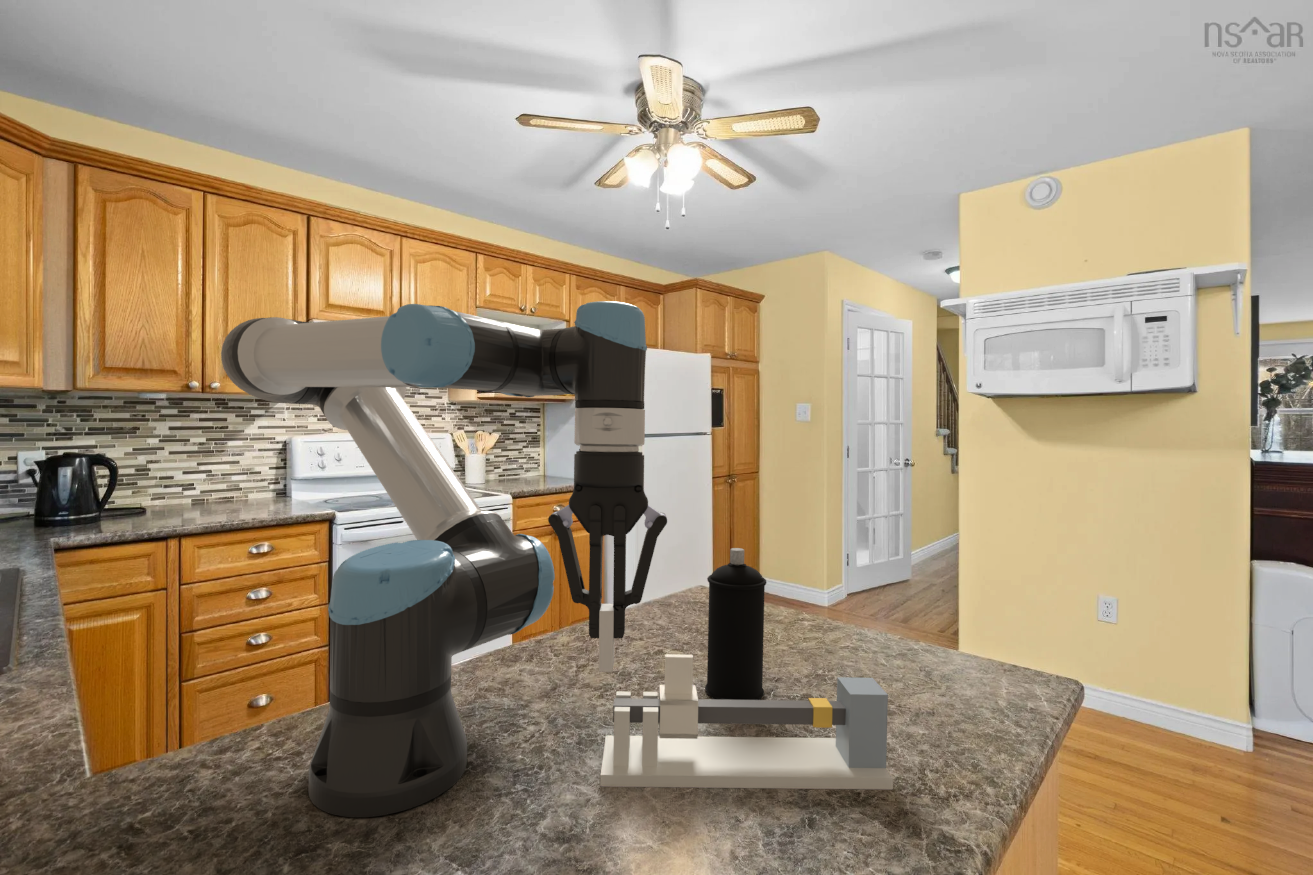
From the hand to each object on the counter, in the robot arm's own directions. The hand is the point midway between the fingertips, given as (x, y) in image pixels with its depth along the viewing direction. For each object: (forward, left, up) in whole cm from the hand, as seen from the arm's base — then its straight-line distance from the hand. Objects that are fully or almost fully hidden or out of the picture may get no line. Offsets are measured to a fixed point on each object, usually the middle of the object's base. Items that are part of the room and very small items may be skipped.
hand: (606, 666), depth 66 cm
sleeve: (+8, 0, -7) cm, 10 cm away
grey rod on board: (+15, 0, -11) cm, 18 cm away
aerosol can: (+17, +19, -11) cm, 28 cm away
